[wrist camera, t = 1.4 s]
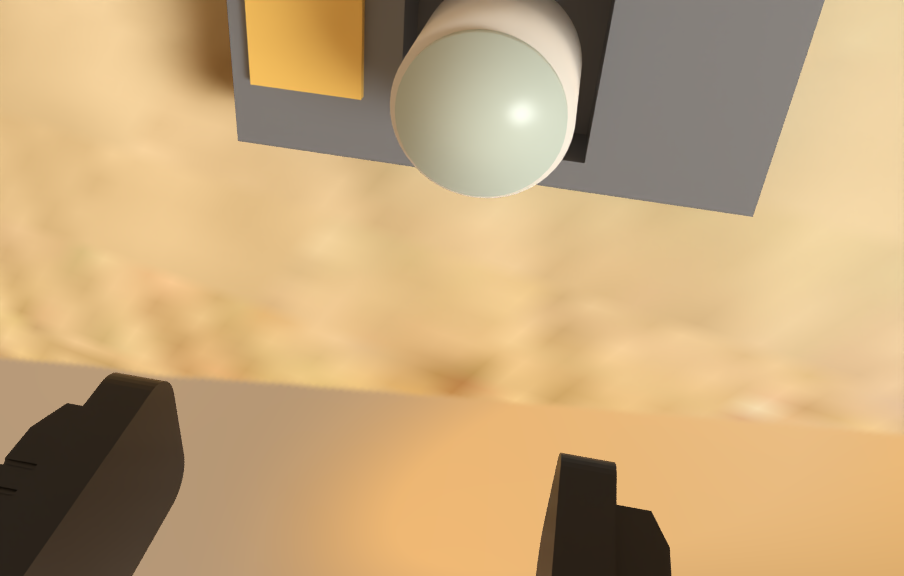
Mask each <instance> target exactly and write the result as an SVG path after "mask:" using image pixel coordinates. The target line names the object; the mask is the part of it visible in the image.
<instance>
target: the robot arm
mask: <svg viewBox="0 0 904 576" xmlns="http://www.w3.org/2000/svg"><path fill="white" fill-rule="evenodd" d="M183 472H184V453H183V447H182V440H181V435H180V428H179V422H178V416H177V409H176V403H175V397H174V392H173V388H172V386H171V384H170V383H168V382H166V381H161V380H155V379H149V378H144V377H138V376H132V375H127V374H121V373H112V374H110V375H108V376H107V377H106V378H105V379H104V380H103V381H102V382H101V384H100V385H99V386H98V387H97V389H96V390H95V391H94V393H93V394H92V395H91V396H90V398H89V399H88V400H87V402H86V403H85V404H84V405H83V406H80V405H74V404H69V403H67V404H65V405H64V406H62V407H61V408H59V409H58V410H56V411H55V412H53V413H51V414H50V415H48V416H47V417H45V418H44V419H42V420H41V421H40V422H38V423H36V424H35V425H33V426H32V427H30V429H29V430H28V431H27V432H26V433H25V435H24V436H23V437H22V438H21V440H20V441H19V442H18V443H17V444H16V445H15V447H14V448H13V449H12V450H11V452H10V453H9V454H8V455H7V456H6V458H5V462H4V464H3V465H2V464H0V576H132V575H133V573H134V572H135V570H136V568H137V566H138V565H139V563H140V561H141V559H142V558H143V556H144V554H145V552H146V551H147V548H148V547H149V545H150V544H151V542H152V540H153V538H154V536H155V535H156V533H157V531H158V529H159V528H160V526H161V524H162V523H163V521H164V519H165V517H166V515H167V514H168V512H169V510H170V508H171V507H172V505H173V503H174V501H175V499H176V497H177V494H178V492H179V489H180V486H181V482H182V478H183ZM616 477H617V472H616V464H615V463H614V462H609V461H603V460H598V459H592V458H587V457H581V456H576V455H570V454H564V453H560V454H559V457H558V461H557V466H556V470H555V475H554V480H553V484H552V489H551V494H550V498H549V503H548V507H547V512H546V516H545V521H544V526H543V531H542V536H541V543H540V550H539V556H538V563H537V572H536V576H671V563H670V547H669V545H668V543H667V541H666V539H665V538H664V535H663V534H662V532H661V530H660V528H659V526H658V524H657V522H656V520H655V518H654V516H653V514H652V512H651V511H648V510H642V509H637V508H631V507H626V506H620V505H616V483H617V478H616Z"/></svg>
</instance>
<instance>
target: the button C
mask: <svg viewBox="0 0 904 576" xmlns="http://www.w3.org/2000/svg"><path fill="white" fill-rule="evenodd" d="M581 69H582V51H581V45H580V41H579V37H578V34H577V31H576V29H575V27H574V25H573V23H572V21H571V19H570V18H569V16H568V15H567V13H566V12H565V11H564V9H563V8H562V7H561V6H560V5H559V4H558V3H557V2H556V1H555V0H444V1H443V2H442V3H441V4H440V5H439V6H438V7H437V9H436V10H435V11H434V12H433V14H432V15H431V17H430V19H429V20H428V22H427V23H426V25H425V26H424V28H423V30H422V31H421V33H420V34H419V36H418V37H417V39H416V41H415V42H414V44H413V45H412V47H411V48H410V50H409V52H408V53H407V55H406V56H405V58H404V59H403V61H402V63H401V65H400V66H399V68H398V70H397V73H396V75H395V78H394V81H393V85H392V89H391V96H390V115H391V121H392V126H393V129H394V133H395V136H396V138H397V140H398V143H399V145H400V147H401V148H402V150H403V152H404V153H405V155H406V156H407V158H408V159H409V160H410V162H411V163H412V164H413V165H414V166H415V167H416V168H417V169H418V170H419V171H420V172H421V173H422V174H423V175H424V176H426V177H427V178H428V179H430V180H431V181H433V182H434V183H436V184H437V185H439V186H441V187H443V188H445V189H447V190H449V191H452V192H455V193H458V194H461V195H465V196H470V197H477V198H498V197H505V196H509V195H513V194H517V193H520V192H522V191H524V190H527V189H529V188H531V187H533V186H534V185H536V184H538V183H539V182H541V181H542V180H543V179H545V178H546V177H547V176H548V175H549V174H550V173H551V172H552V171H553V170H554V169H555V168H556V167H557V166H558V164H559V163H560V162H561V160H562V159H563V157H564V156H565V154H566V152H567V150H568V148H569V145H570V143H571V141H572V137H573V133H574V129H575V122H576V113H577V104H578V96H579V87H580V78H581Z"/></svg>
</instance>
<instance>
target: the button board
mask: <svg viewBox="0 0 904 576" xmlns="http://www.w3.org/2000/svg"><path fill="white" fill-rule="evenodd" d="M443 1H444V0H227V11H228V24H229V36H230V48H231V60H232V72H233V85H234V97H235V109H236V121H237V134H238V141H242V142H249V143H256V144H263V145H269V146H276V147H283V148H290V149H297V150H303V151H310V152H317V153H324V154H330V155H337V156H344V157H351V158H358V159H364V160H371V161H378V162H385V163H392V164H398V165H405V166H412V167H415V166H414V165H413V164H412V163H411V162H410V160H409V159H408V158H407V156H406V155H405V153H404V152H403V150H402V148H401V147H400V145H399V143H398V140H397V138H396V136H395V133H394V129H393V126H392V121H391V115H390V96H391V89H392V85H393V81H394V78H395V75H396V73H397V70H398V68H399V66H400V65H401V63H402V61H403V59H404V58H405V56H406V55H407V53H408V52H409V50H410V48H411V47H412V45H413V44H414V42H415V41H416V39H417V37H418V36H419V34H420V33H421V31H422V30H423V28H424V26H425V25H426V23H427V22H428V20H429V19H430V17H431V15H432V14H433V12H434V11H435V10H436V9H437V7H438V6H439V5H440V4H441V3H442V2H443ZM555 1H556V2H557V3H558V4H559V5H560V6H561V7H562V8H563V9H564V11H565V12H566V13H567V15H568V16H569V18H570V19H571V21H572V23H573V25H574V27H575V29H576V31H577V34H578V37H579V41H580V45H581V51H582V69H581V78H580V87H579V96H578V104H577V113H576V122H575V129H574V133H573V137H572V141H571V143H570V145H569V148H568V150H567V152H566V154H565V156H564V157H563V159H562V160H561V162H560V163H559V164H558V166H557V167H556V168H555V169H554V170H553V171H552V172H551V173H550V174H549V175H548V176H547V177H546V178H545V179H543V180H542V181H541V182H539V183H538V184H536V185H541V186H548V187H554V188H561V189H568V190H575V191H582V192H588V193H595V194H602V195H609V196H615V197H622V198H629V199H636V200H643V201H649V202H656V203H663V204H670V205H677V206H683V207H690V208H697V209H704V210H710V211H717V212H724V213H731V214H738V215H744V216H751V217H753V214H754V211H755V208H756V205H757V202H758V199H759V196H760V193H761V190H762V187H763V184H764V181H765V178H766V175H767V172H768V169H769V166H770V163H771V160H772V157H773V154H774V151H775V148H776V145H777V142H778V139H779V136H780V133H781V130H782V127H783V124H784V121H785V118H786V115H787V112H788V109H789V106H790V103H791V100H792V97H793V94H794V91H795V88H796V85H797V82H798V79H799V76H800V73H801V70H802V67H803V64H804V61H805V58H806V55H807V52H808V49H809V46H810V43H811V40H812V37H813V34H814V31H815V28H816V25H817V22H818V19H819V16H820V13H821V10H822V7H823V4H824V1H825V0H555Z"/></svg>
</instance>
